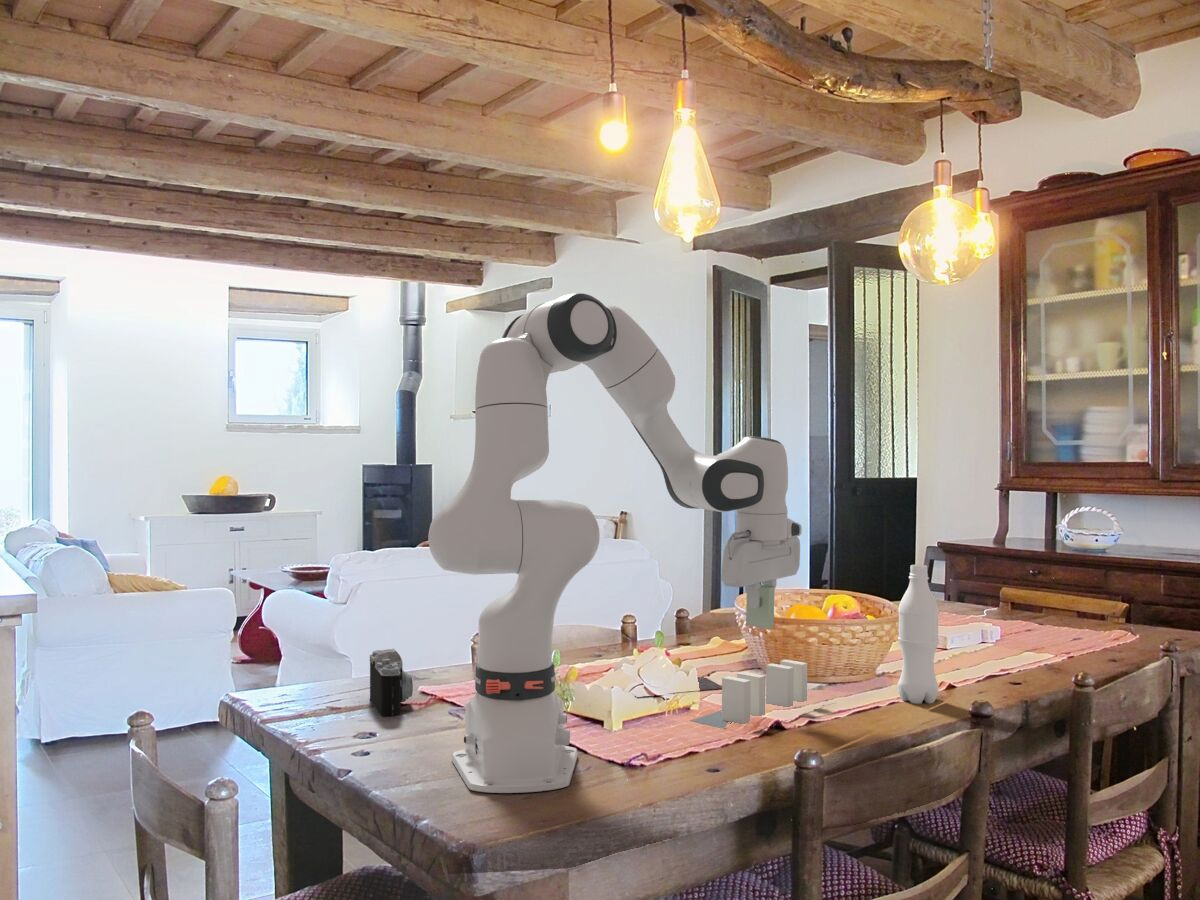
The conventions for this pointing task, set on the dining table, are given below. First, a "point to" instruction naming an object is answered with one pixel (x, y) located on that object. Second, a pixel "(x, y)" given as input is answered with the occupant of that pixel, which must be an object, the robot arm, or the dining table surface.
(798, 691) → the tile
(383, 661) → the camera
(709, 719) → the felt runner
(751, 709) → the tile
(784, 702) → the tile
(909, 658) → the water bottle
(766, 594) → the tile
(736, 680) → the tile
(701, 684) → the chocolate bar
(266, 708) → the dining table surface
